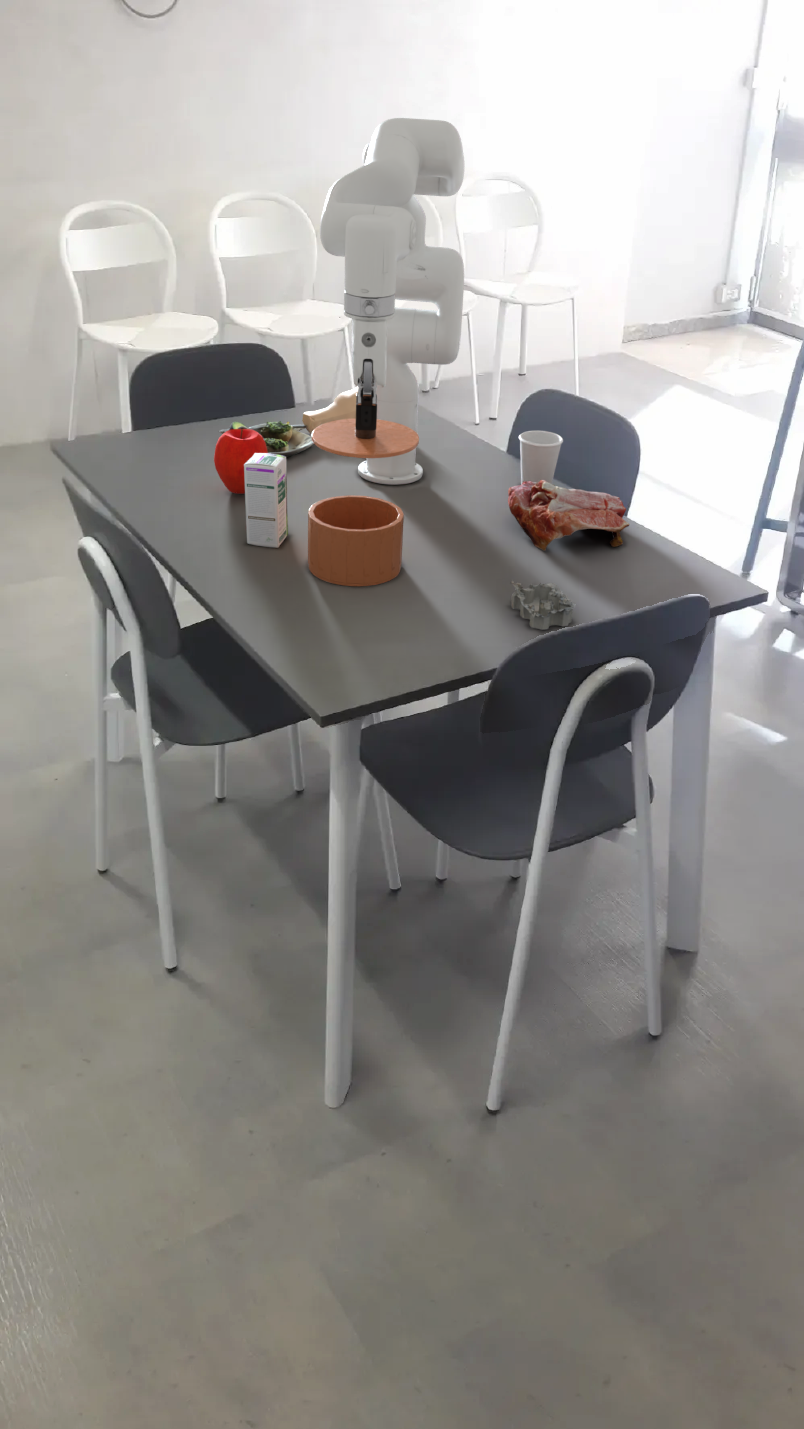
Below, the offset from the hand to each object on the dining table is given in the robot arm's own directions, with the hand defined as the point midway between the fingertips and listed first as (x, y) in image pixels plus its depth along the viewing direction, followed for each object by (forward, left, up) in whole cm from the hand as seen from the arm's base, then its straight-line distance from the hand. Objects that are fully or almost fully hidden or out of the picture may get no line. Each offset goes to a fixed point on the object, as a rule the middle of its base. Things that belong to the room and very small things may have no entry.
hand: (365, 424), depth 196 cm
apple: (-32, -22, -24) cm, 46 cm away
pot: (0, -1, -24) cm, 24 cm away
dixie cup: (-39, +34, -24) cm, 57 cm away
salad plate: (-58, -19, -24) cm, 66 cm away
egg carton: (+16, +28, -24) cm, 40 cm away
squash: (-69, -2, -24) cm, 73 cm away
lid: (0, 0, -2) cm, 2 cm away
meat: (-18, +37, -24) cm, 48 cm away
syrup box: (-10, -16, -24) cm, 31 cm away
